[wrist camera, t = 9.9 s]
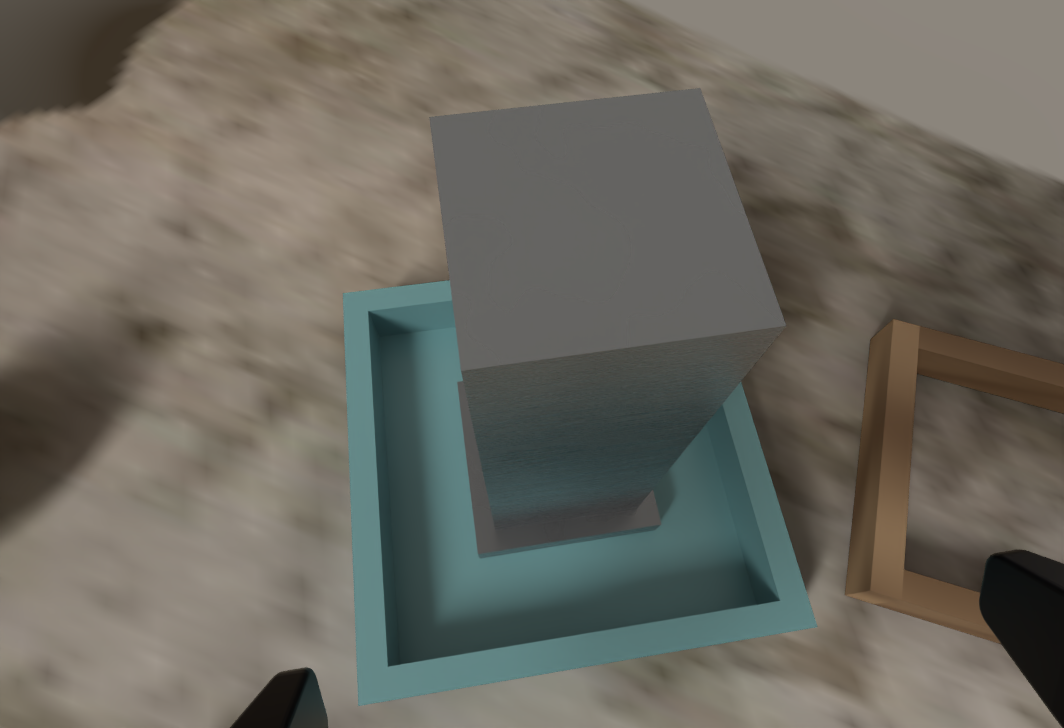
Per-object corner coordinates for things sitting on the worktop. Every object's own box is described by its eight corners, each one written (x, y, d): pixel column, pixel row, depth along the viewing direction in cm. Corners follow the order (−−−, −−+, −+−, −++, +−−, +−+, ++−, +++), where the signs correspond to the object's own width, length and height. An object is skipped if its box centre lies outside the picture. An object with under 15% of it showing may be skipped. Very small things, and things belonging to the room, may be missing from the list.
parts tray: (784, 629, 20) (817, 627, 17) (377, 699, 19) (358, 705, 16) (684, 285, 25) (699, 249, 22) (359, 326, 24) (342, 293, 21)
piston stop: (655, 530, 20) (844, 359, 8) (479, 558, 20) (418, 420, 8) (617, 370, 22) (725, 58, 11) (459, 392, 22) (388, 92, 10)
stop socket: (1163, 694, 19) (1216, 698, 18) (844, 595, 20) (870, 590, 19) (1137, 411, 23) (1180, 394, 21) (870, 339, 24) (893, 319, 22)
